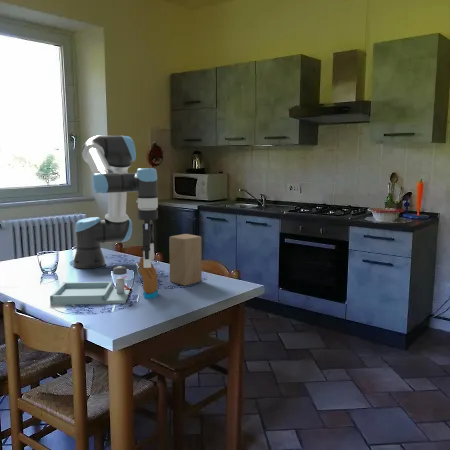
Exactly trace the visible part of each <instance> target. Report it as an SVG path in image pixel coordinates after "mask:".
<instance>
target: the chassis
mask: <svg viewBox="0 0 450 450" xmlns="http://www.w3.org/2000/svg"><path fill="white" fill-rule="evenodd" d="M115 280H116V281H115V282H116V284H115V285H116V286H114V285H113V284H114V283H113V281H88V282H87V281H85V282H84V281H83V282H81V281H79V282H77V281H74V282H73V281H72V282H71V281H69V282H62V283H61V284H60V286H58V287H57V288H56V289H55V291H54V292H53V293H52V294H50V296H49V301H50V302H49V305H50V306H52V305H57V306H59V305H100V304H101V305H102V304H103V305H109V304H110V305H112V304H116V305H118V304H126V303H127V301H128V298H129V296H130V294H129V293H131V291H130V290H125V289H124V286H125V277H116V279H115ZM115 287H117V289H115ZM128 295H129V296H128ZM126 300H127V301H126Z"/></svg>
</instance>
